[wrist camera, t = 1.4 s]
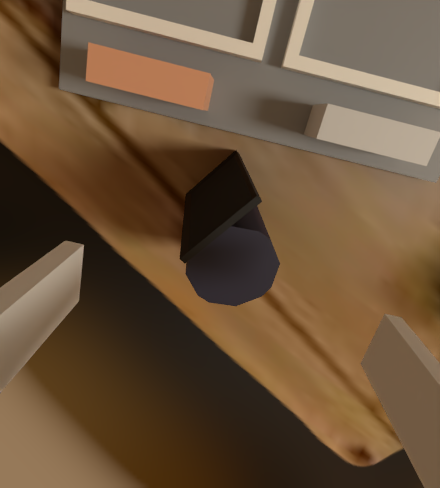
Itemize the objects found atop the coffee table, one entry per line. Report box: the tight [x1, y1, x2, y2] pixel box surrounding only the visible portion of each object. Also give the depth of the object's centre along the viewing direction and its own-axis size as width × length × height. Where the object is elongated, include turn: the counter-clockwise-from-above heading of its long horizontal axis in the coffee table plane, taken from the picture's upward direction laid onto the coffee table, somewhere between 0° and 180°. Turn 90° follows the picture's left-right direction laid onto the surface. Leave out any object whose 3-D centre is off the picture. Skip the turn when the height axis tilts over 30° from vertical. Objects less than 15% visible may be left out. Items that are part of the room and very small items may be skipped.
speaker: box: [180, 151, 280, 306], centre depth 23 cm, size 8×6×10 cm
